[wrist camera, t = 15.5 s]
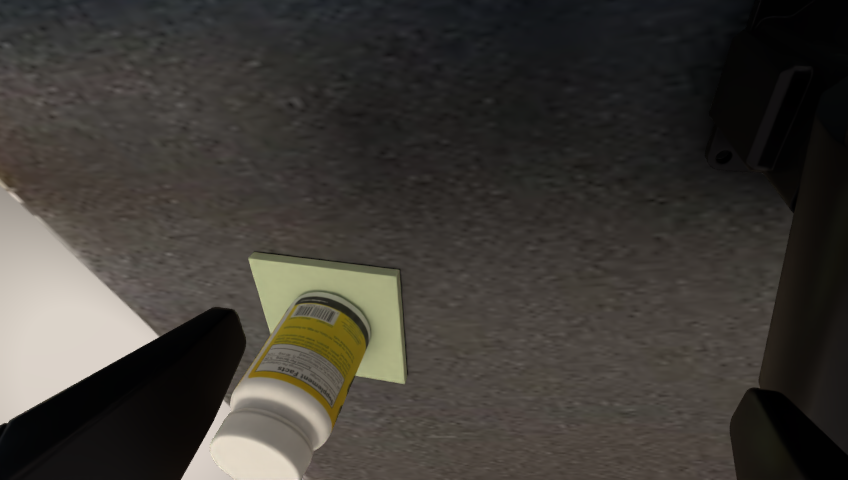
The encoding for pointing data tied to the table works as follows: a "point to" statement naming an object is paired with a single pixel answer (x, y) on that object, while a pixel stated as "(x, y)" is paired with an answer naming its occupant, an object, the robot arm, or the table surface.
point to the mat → (355, 284)
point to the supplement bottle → (292, 390)
